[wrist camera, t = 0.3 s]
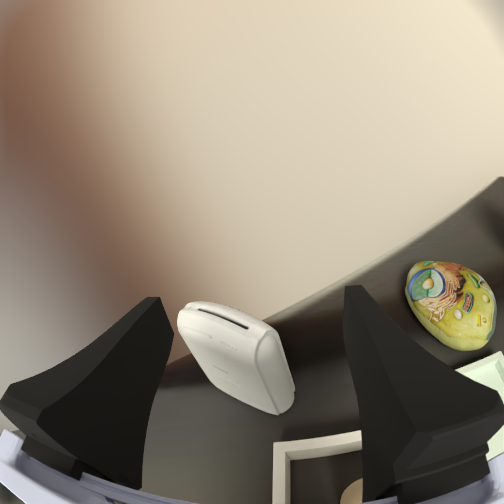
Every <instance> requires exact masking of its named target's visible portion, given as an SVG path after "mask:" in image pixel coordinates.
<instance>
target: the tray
mask: <svg viewBox="0 0 504 504" xmlns="http://www.w3.org/2000/svg"><path fill="white" fill-rule="evenodd" d="M456 371H458V372H459V373H461V374H463V375H465V376H467V377H468V378H470V379H472V380H474V381H476V382H479V383H481V384H483V385H485V386H488V387H490V388H492V389H495V390H497V391H498V393H499V394H500V396H501V398H502V401H503V403H504V356H503V354H502V353H501V351H500V352H497V353H495V354H493V355H491V356H488V357H486V358H484V359H481V360H479V361H477V362H474V363H472V364H469V365H467V366H464V367H462V368H459V369H456ZM487 443H488V446H489V452H488V453H487V454H486V458H487V461H488V460H490V459H491V458H493V457H495V456H497V455H498V454H500V453H502V452H504V425H503V426H502V428H501V429H500V430H499V431H498V432H497V433H496V434H495V435H494V436H493V437H492V438H491V439H490V440H489V441H488V442H487Z"/></svg>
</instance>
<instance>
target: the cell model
mask: <svg viewBox="0 0 504 504" xmlns="http://www.w3.org/2000/svg"><path fill="white" fill-rule="evenodd" d="M405 294H406V297H407V300H408V303H409V305H410V307H411V309H412V311H413V312H414V314H415V316H416V317H417V318H418V320H419V321H420V323H421V324H422V325H423V326H424V327H425V328H426V329H427V330H428V331H429V332H430V333H431V334H432V335H433V336H435V337H436V338H437V339H438V340H439V341H441V342H442V343H443V344H445V345H446V346H448V347H450V348H453V349H456V350H460V351H470V350H477V349H480V348H481V347H483V346H484V345H485V344H486V343H487V342H488V341H489V339H490V338H491V336H492V335H493V333H494V329H495V324H496V313H497V308H496V301H495V297H494V295H493V292H492V291H491V289H490V287H489V286H488V284H487V283H486V282H485V280H484V279H483V278H482V277H481V276H480V275H478V274H477V273H475V272H474V271H472V270H470V269H468V268H466V267H465V266H462V265H460V264H456V263H451V262H437V261H422V262H419V263H416V264H415V265H414V266H413V267H412V268H411V270H410V271H409V273H408V276H407V284H406V288H405Z"/></svg>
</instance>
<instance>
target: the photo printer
mask: <svg viewBox="0 0 504 504" xmlns="http://www.w3.org/2000/svg"><path fill="white" fill-rule="evenodd" d="M177 325H178V330H179V332H180V334H181V336H182V337H183V339H184V341H185V342H186V344H187V346H188V347H189V349H190V351H191V352H192V354H193V355H194V357H195V359H196V360H197V362H198V363H199V365H200V366H201V368H202V369H203V371H204V372H205V374H206V375H207V377H208V378H209V380H210V381H211V382H212V383H213V384H214V385H215V386H216V387H217V388H219V389H220V390H222V391H224V392H225V393H227V394H229V395H231V396H233V397H234V398H236V399H238V400H240V401H242V402H244V403H246V404H249V405H251V406H253V407H255V408H258V409H260V410H262V411H265V412H267V413H270V414H274V415H279V413H283V412H285V411H286V410H288V409H289V408H290V407H291V405H292V404H293V402H294V391H295V386H294V383H293V379H292V376H291V373H290V370H289V367H288V363H287V360H286V357H285V354H284V350H283V347H282V344H281V341H280V338H279V335H278V333H277V331H276V330H275V329H273V328H272V327H271V326H269V325H268V324H266V323H265V322H263V321H261V320H259V319H257V318H256V317H254V316H252V315H249V314H247V313H245V312H242V311H240V310H238V309H234V308H232V307H228V306H225V305H221V304H218V303H213V302H202V301H198V302H191V303H188V304H187V305H186V307H185V308H184V309H182V310H181V311H180V312H179V315H178V321H177Z"/></svg>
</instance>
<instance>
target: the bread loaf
mask: <svg viewBox="0 0 504 504" xmlns="http://www.w3.org/2000/svg"><path fill="white" fill-rule="evenodd" d="M362 491H363V478H362V479H359V480H357V481H355V482H353V483H352V484H351V485H349V486H348V487H347V488H346V490H345V491H344V493H343V494H342V497H341V501H340V504H359V503H362Z"/></svg>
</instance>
